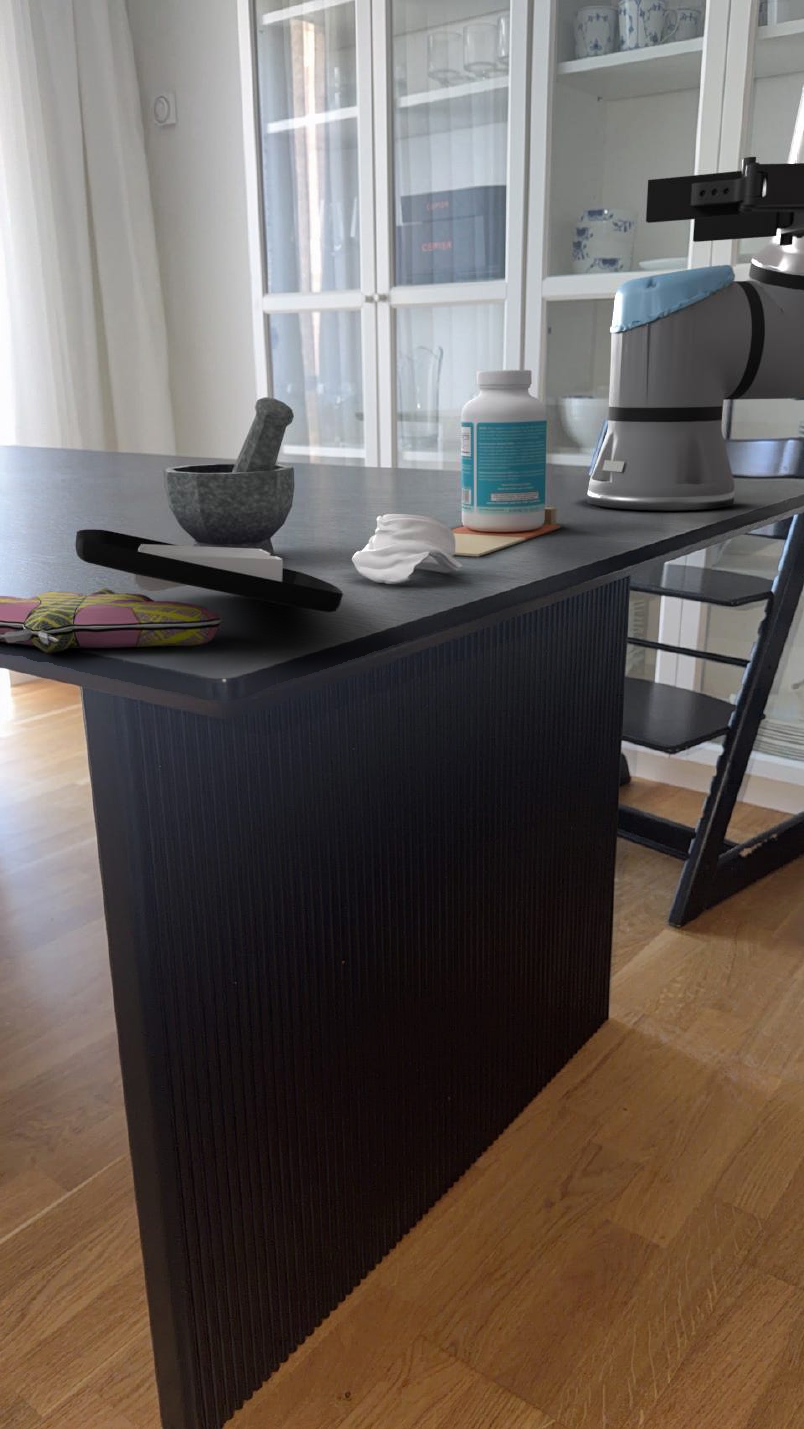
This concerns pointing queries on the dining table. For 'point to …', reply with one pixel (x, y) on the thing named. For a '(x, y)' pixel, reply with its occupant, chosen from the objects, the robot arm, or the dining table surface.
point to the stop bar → (550, 516)
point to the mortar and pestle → (238, 488)
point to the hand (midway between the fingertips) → (672, 213)
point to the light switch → (206, 569)
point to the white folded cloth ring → (406, 549)
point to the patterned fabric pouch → (103, 621)
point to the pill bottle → (503, 454)
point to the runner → (491, 539)
